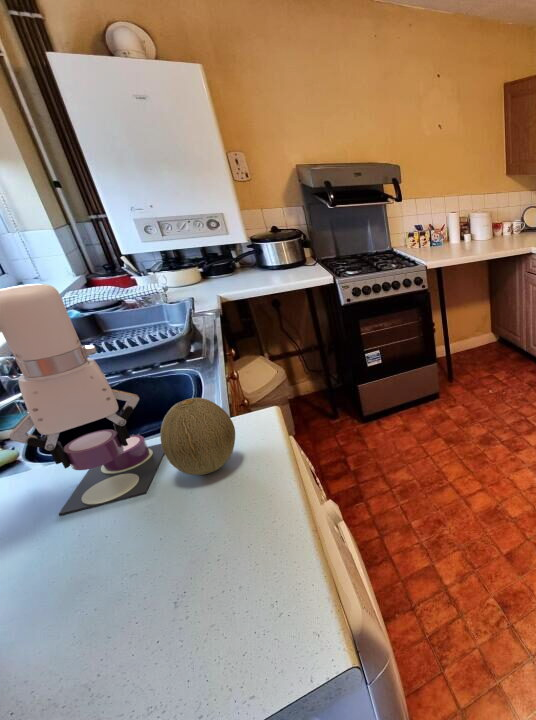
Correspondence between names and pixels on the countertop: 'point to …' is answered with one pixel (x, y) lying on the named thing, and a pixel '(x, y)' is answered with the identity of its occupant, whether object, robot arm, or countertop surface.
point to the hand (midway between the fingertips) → (96, 452)
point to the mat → (114, 483)
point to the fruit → (197, 436)
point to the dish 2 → (130, 454)
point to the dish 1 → (93, 449)
